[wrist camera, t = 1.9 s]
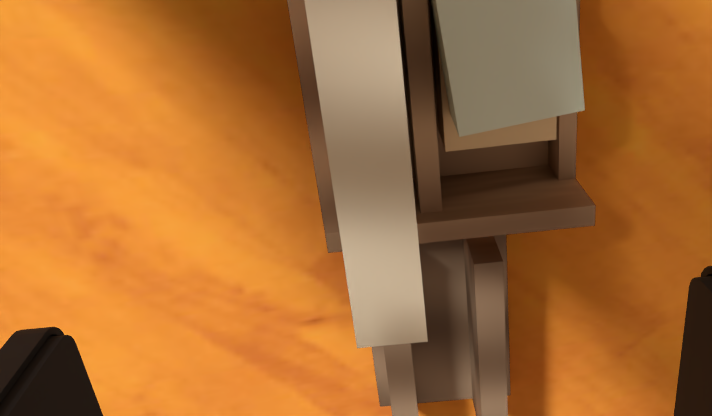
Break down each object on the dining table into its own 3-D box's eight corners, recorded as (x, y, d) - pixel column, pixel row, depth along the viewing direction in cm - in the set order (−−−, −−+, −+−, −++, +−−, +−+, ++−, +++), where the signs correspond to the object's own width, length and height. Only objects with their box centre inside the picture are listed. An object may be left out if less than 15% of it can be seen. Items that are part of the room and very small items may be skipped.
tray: (283, -135, 28) (264, -141, 23) (562, -174, 27) (611, -191, 22) (333, 197, 35) (328, 252, 30) (558, 173, 34) (594, 225, 29)
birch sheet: (332, -65, 28) (301, -22, 14) (378, -71, 28) (392, -34, 14) (360, 148, 33) (357, 347, 18) (399, 144, 33) (427, 341, 18)
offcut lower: (426, -40, 29) (433, -34, 26) (539, -55, 29) (558, -50, 26) (438, 130, 32) (445, 151, 30) (540, 118, 32) (556, 139, 29)
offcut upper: (425, -25, 26) (433, -16, 24) (550, -55, 26) (571, -49, 23) (450, 114, 29) (459, 136, 26) (564, 89, 28) (585, 110, 26)
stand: (356, 228, 36) (355, 276, 31) (502, 212, 35) (522, 259, 31) (379, 395, 41) (381, 456, 37) (507, 384, 41) (525, 445, 36)
